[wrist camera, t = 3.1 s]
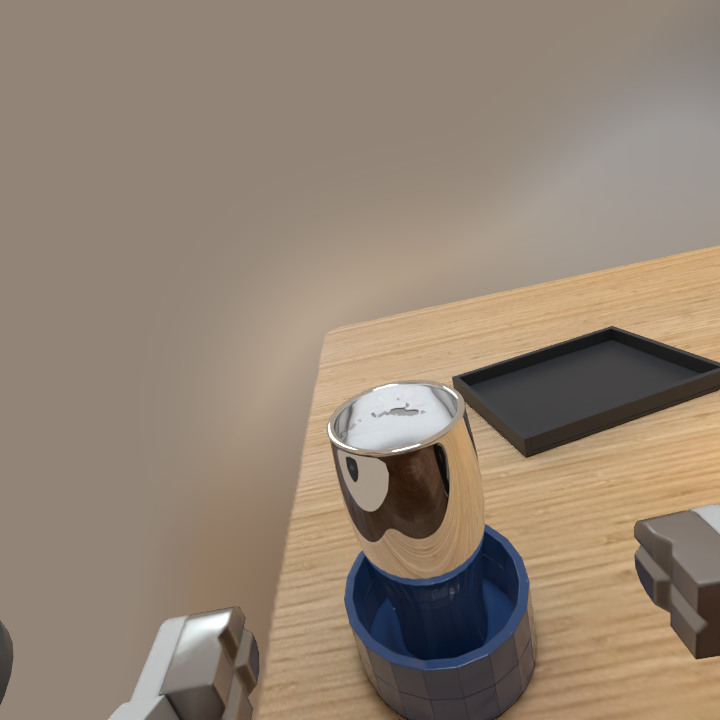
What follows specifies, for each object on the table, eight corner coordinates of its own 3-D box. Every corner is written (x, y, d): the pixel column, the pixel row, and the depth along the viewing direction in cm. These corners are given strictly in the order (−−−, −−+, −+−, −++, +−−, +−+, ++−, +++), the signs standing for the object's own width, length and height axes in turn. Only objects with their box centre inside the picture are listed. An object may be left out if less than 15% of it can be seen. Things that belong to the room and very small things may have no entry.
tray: (526, 457, 40) (524, 439, 40) (454, 391, 54) (452, 377, 54) (731, 385, 43) (732, 366, 42) (612, 340, 57) (612, 325, 56)
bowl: (389, 764, 22) (369, 704, 20) (347, 597, 31) (331, 547, 30) (576, 683, 23) (571, 621, 22) (483, 546, 33) (474, 495, 31)
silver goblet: (443, 564, 32) (400, 367, 26) (532, 630, 26) (502, 397, 21) (364, 633, 28) (296, 424, 23) (447, 725, 23) (384, 477, 17)
